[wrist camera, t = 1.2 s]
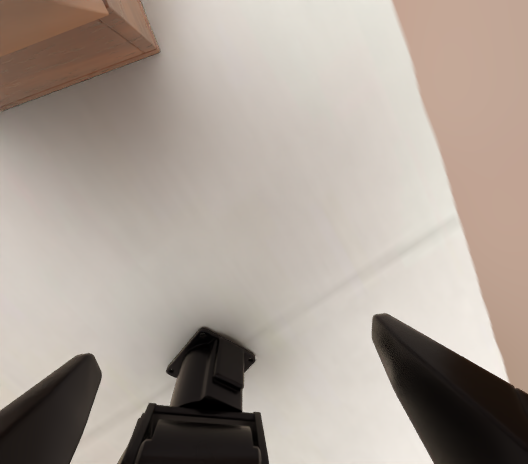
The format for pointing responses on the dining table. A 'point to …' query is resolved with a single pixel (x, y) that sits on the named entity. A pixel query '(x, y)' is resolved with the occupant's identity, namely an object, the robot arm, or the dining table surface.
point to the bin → (77, 54)
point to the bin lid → (43, 20)
